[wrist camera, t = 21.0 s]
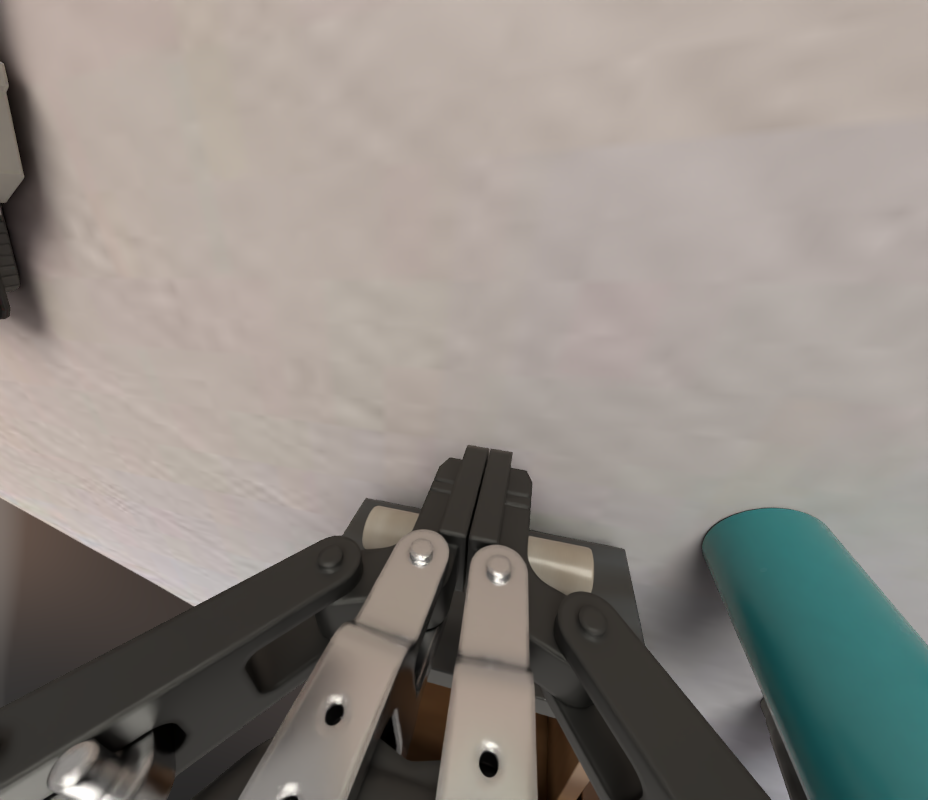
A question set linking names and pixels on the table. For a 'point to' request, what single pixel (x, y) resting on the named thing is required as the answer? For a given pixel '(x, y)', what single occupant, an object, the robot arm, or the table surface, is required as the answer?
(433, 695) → the drawer
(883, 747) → the tin
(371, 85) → the table surface
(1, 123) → the walkie-talkie
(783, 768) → the beverage cup
